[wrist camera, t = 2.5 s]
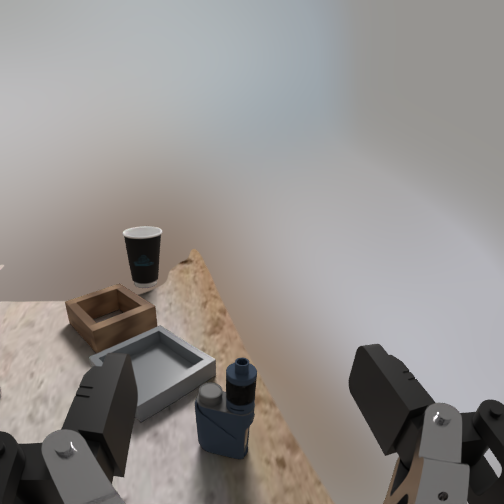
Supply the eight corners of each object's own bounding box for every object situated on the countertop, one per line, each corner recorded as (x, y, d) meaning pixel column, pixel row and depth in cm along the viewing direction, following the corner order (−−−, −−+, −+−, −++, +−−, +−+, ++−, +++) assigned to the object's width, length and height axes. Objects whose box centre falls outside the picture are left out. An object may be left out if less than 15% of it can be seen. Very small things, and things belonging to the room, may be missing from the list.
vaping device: (247, 462, 25) (254, 375, 21) (195, 449, 26) (185, 360, 22) (253, 443, 27) (262, 354, 23) (203, 431, 28) (198, 342, 24)
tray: (140, 422, 28) (136, 406, 27) (93, 372, 34) (88, 357, 33) (215, 374, 37) (215, 359, 36) (161, 339, 43) (160, 325, 43)
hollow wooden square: (98, 354, 38) (92, 331, 37) (69, 323, 44) (64, 301, 43) (157, 328, 46) (155, 306, 45) (122, 303, 52) (119, 283, 51)
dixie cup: (149, 272, 67) (147, 224, 63) (172, 283, 62) (170, 231, 59) (120, 282, 61) (115, 231, 57) (141, 295, 56) (136, 239, 53)
